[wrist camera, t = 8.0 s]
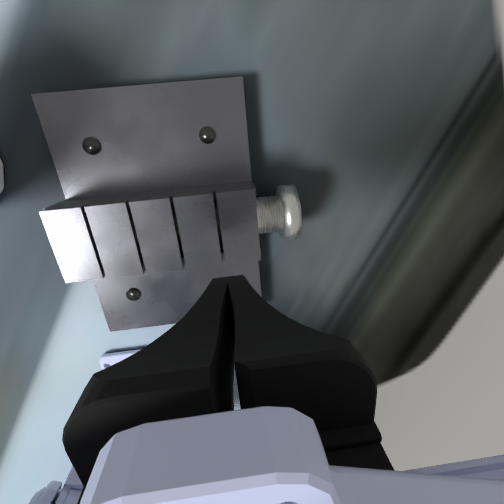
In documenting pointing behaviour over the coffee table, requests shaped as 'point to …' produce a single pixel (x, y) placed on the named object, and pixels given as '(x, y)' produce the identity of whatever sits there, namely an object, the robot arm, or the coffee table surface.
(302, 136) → the coffee table surface
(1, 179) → the white cup
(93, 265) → the hinge leaves
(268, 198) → the hinge pin
